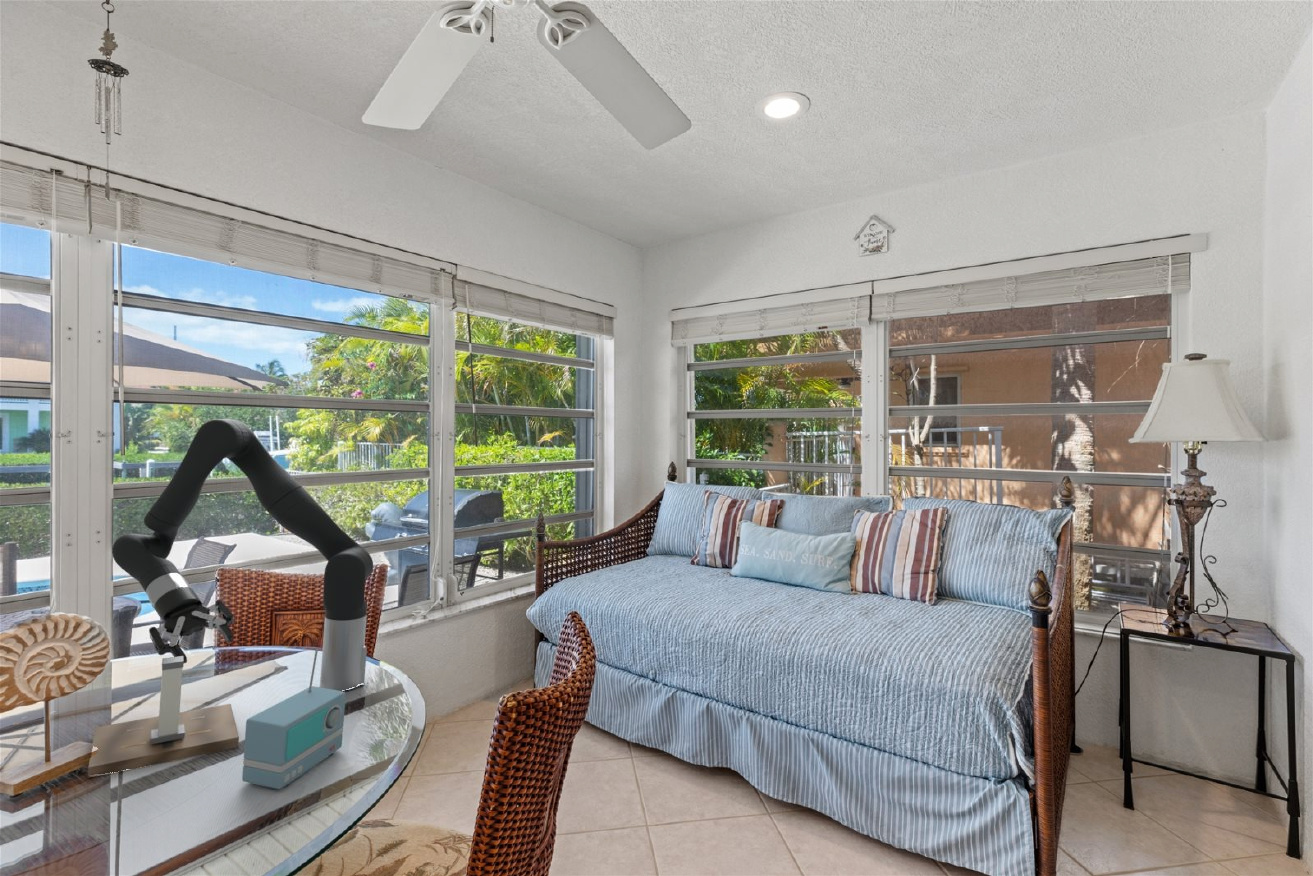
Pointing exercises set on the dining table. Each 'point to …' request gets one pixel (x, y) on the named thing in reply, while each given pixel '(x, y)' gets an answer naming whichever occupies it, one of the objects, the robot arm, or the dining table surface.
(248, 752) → the radio
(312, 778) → the dining table surface
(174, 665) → the fader
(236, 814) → the dining table surface
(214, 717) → the brown wooden board
